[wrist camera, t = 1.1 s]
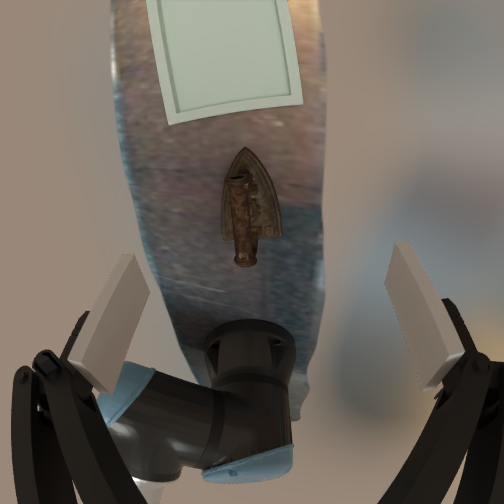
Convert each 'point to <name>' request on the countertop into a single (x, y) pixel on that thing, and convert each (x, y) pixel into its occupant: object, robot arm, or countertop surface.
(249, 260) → the clothes iron
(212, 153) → the countertop surface
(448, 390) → the robot arm
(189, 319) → the countertop surface
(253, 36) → the iron rest
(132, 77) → the countertop surface
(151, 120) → the countertop surface
